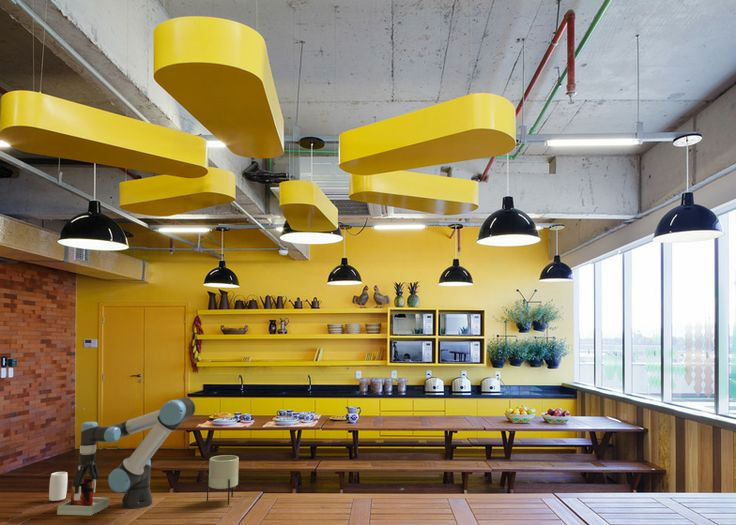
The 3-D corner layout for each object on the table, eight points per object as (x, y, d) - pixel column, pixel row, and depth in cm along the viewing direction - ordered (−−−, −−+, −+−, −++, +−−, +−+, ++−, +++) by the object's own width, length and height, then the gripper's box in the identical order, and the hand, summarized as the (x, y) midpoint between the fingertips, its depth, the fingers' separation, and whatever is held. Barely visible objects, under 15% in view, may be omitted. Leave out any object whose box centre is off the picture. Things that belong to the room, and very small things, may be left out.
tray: (109, 505, 293) (109, 497, 293) (92, 515, 277) (92, 507, 278) (75, 504, 294) (76, 496, 295) (57, 514, 278) (57, 506, 279)
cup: (44, 502, 298) (46, 474, 299) (55, 498, 306) (57, 471, 308) (58, 503, 296) (60, 475, 298) (69, 499, 304) (71, 471, 306)
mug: (91, 509, 280) (92, 484, 282) (65, 508, 282) (67, 483, 284) (103, 503, 289) (104, 479, 291) (78, 502, 292) (80, 478, 293)
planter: (243, 500, 304) (245, 456, 307) (225, 508, 290) (226, 462, 293) (221, 497, 310) (222, 453, 313) (201, 504, 296) (203, 459, 299)
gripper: (93, 448, 302) (91, 489, 299) (66, 458, 277) (62, 503, 274) (107, 448, 301) (104, 489, 299) (80, 458, 277) (77, 503, 274)
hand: (84, 496), depth 287 cm, fingers open, 13 cm apart
